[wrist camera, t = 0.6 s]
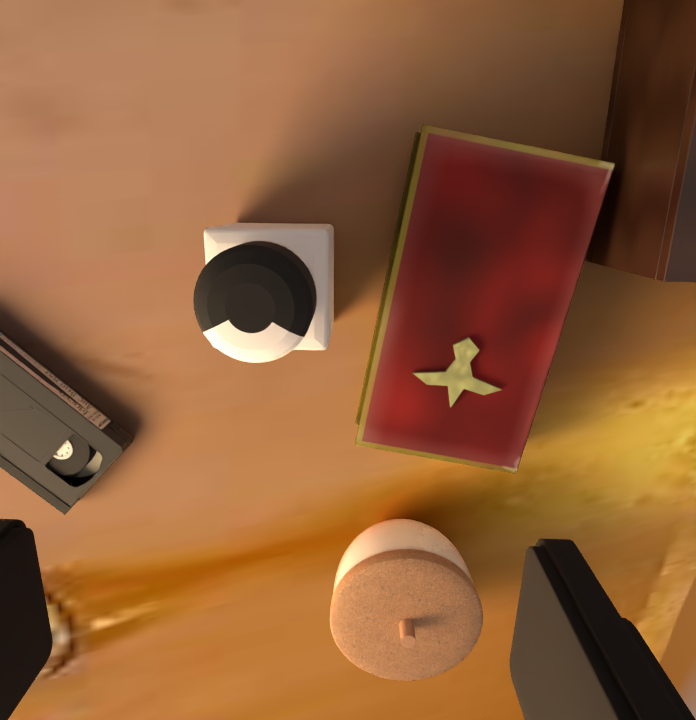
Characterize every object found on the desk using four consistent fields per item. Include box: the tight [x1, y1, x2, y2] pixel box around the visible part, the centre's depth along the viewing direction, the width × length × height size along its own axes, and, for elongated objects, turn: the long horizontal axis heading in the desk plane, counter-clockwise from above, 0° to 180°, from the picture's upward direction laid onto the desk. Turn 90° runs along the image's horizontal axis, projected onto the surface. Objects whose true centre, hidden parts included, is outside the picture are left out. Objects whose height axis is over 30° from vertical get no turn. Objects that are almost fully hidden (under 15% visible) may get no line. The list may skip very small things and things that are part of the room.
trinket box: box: [330, 519, 483, 681], centre depth 39 cm, size 11×11×9 cm
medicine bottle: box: [194, 223, 334, 363], centre depth 31 cm, size 7×7×12 cm
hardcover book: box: [355, 124, 615, 473], centre depth 35 cm, size 12×21×4 cm, turn 169°
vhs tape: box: [0, 331, 133, 515], centre depth 39 cm, size 14×8×2 cm, turn 46°
